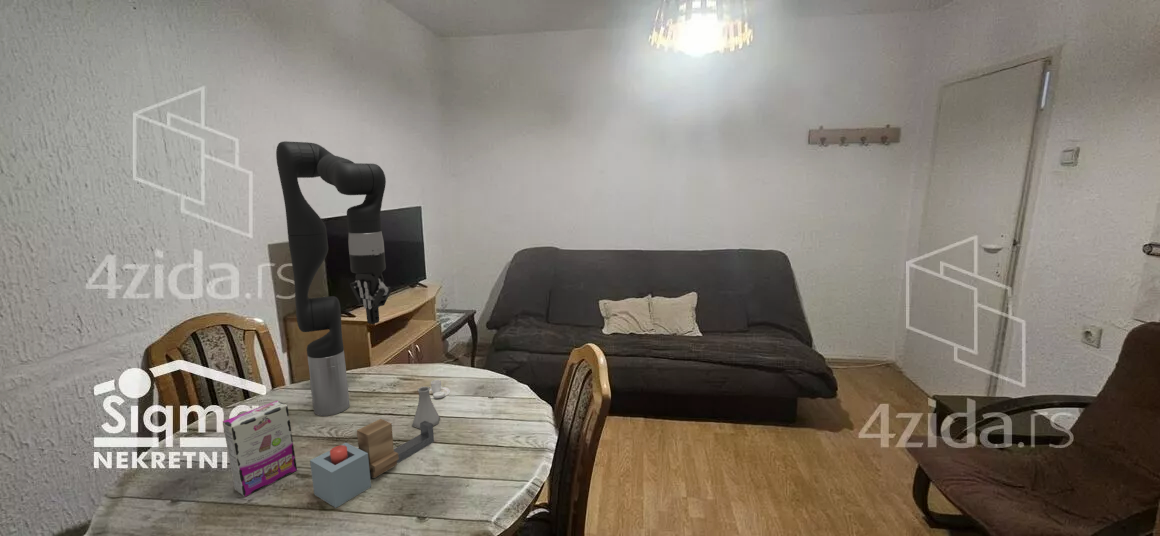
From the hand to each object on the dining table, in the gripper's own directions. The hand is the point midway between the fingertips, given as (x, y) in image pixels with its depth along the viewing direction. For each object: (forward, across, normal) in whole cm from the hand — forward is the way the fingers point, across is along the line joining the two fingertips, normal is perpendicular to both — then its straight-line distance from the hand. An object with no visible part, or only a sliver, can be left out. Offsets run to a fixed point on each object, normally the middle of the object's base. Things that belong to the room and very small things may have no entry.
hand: (373, 322), depth 114 cm
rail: (+32, +8, -3) cm, 33 cm away
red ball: (+25, +8, -16) cm, 31 cm away
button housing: (+32, +8, -16) cm, 37 cm away
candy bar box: (+32, -10, -23) cm, 41 cm away
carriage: (+32, +8, -7) cm, 34 cm away
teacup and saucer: (+33, -12, +24) cm, 42 cm away
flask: (+32, 0, +13) cm, 35 cm away
